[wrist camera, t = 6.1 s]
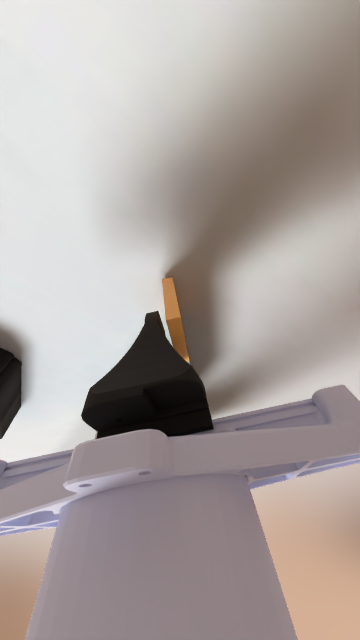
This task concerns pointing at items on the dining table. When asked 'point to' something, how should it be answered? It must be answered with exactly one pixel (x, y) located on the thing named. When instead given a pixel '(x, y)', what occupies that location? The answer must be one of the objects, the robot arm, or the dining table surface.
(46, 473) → the robot arm
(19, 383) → the emblem
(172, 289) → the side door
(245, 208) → the dining table surface
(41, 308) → the dining table surface
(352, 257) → the dining table surface
